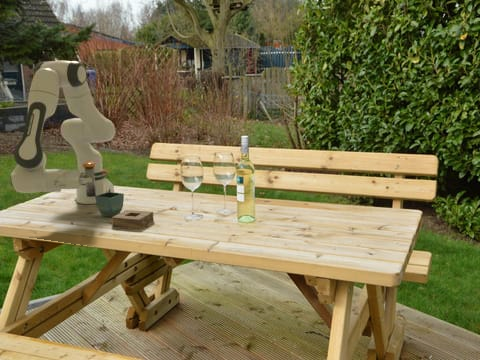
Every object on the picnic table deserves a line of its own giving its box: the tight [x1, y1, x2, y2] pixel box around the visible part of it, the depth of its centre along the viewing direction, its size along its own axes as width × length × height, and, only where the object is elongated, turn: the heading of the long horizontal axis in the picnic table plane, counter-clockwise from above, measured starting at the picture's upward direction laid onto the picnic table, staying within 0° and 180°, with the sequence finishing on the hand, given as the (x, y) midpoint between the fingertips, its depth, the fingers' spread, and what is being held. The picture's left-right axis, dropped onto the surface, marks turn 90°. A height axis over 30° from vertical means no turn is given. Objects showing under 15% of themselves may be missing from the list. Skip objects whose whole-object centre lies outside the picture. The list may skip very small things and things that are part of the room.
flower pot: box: [95, 192, 125, 218], centre depth 228 cm, size 9×9×9 cm
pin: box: [83, 162, 96, 197], centre depth 213 cm, size 5×5×13 cm
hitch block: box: [111, 209, 154, 231], centre depth 215 cm, size 12×12×4 cm
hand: (92, 178), depth 213 cm, fingers closed on pin, 4 cm apart
